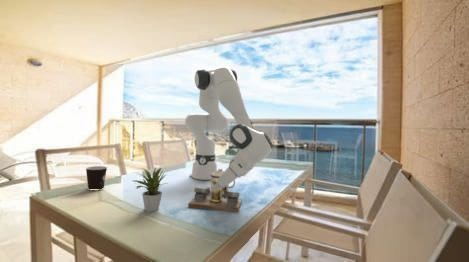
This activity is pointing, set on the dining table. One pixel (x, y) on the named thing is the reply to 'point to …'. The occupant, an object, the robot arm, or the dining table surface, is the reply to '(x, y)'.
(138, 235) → the dining table surface
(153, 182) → the house plant
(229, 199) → the shaft rig
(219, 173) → the teacup with lid
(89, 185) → the coffee mug
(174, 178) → the dining table surface
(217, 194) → the brass door knob
